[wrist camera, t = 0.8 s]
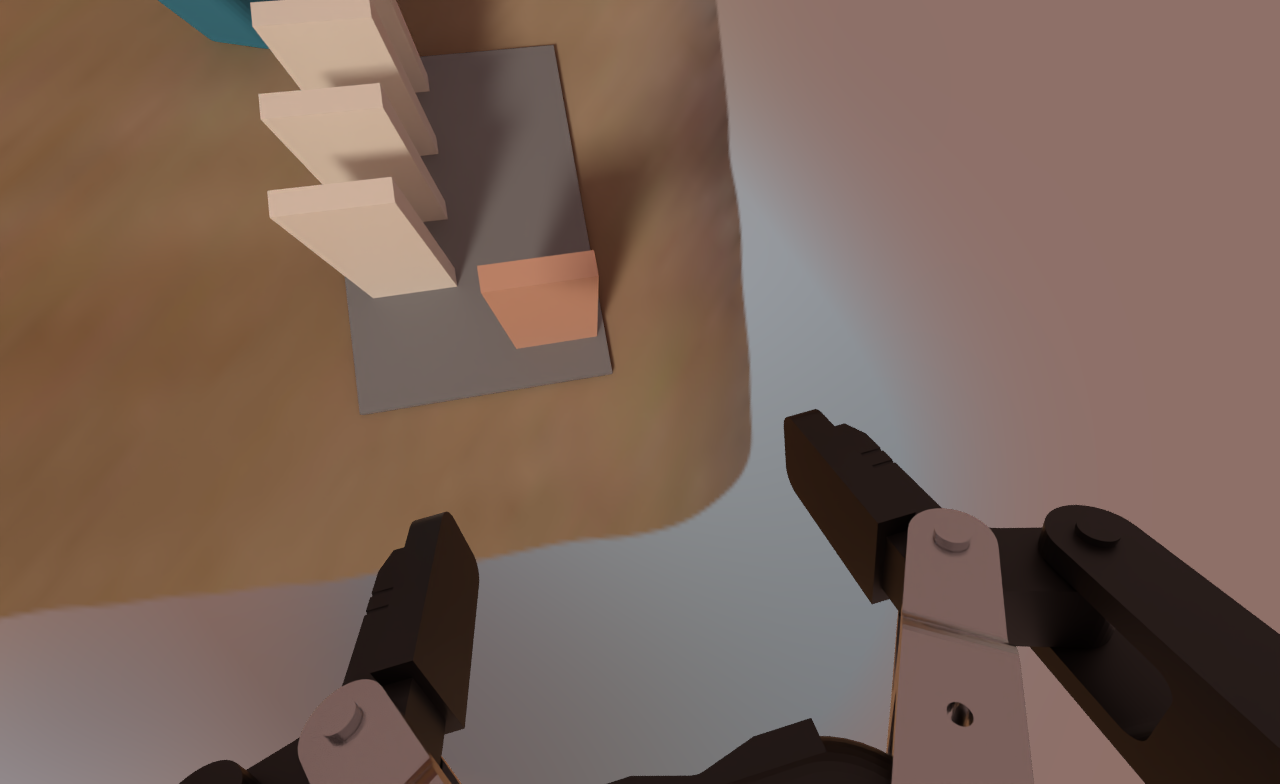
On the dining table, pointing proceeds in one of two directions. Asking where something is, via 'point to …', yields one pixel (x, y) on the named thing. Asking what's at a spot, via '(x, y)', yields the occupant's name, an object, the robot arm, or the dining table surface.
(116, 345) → the dining table surface
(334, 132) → the domino
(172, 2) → the block
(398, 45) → the domino
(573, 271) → the terracotta tile
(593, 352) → the mat
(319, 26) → the domino
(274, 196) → the domino
